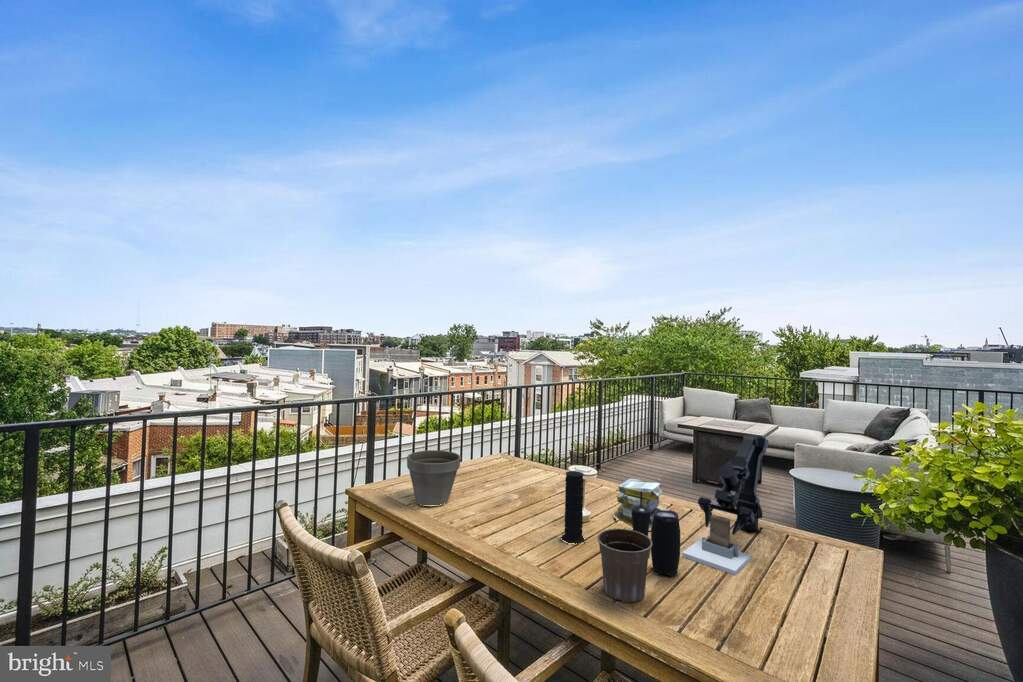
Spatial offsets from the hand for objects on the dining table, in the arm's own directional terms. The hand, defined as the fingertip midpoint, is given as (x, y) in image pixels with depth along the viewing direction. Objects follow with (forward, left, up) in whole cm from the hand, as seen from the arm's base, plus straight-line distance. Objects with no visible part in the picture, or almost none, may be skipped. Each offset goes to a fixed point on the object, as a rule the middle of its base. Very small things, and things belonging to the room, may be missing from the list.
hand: (719, 530), depth 164 cm
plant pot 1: (+94, -78, -9) cm, 122 cm away
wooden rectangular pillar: (-1, 0, -8) cm, 8 cm away
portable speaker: (+26, +5, -9) cm, 28 cm away
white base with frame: (+2, +1, -9) cm, 9 cm away
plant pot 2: (+46, +13, -9) cm, 49 cm away
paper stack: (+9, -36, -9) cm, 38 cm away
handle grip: (+46, -25, -9) cm, 53 cm away
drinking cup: (+23, -15, -9) cm, 29 cm away
